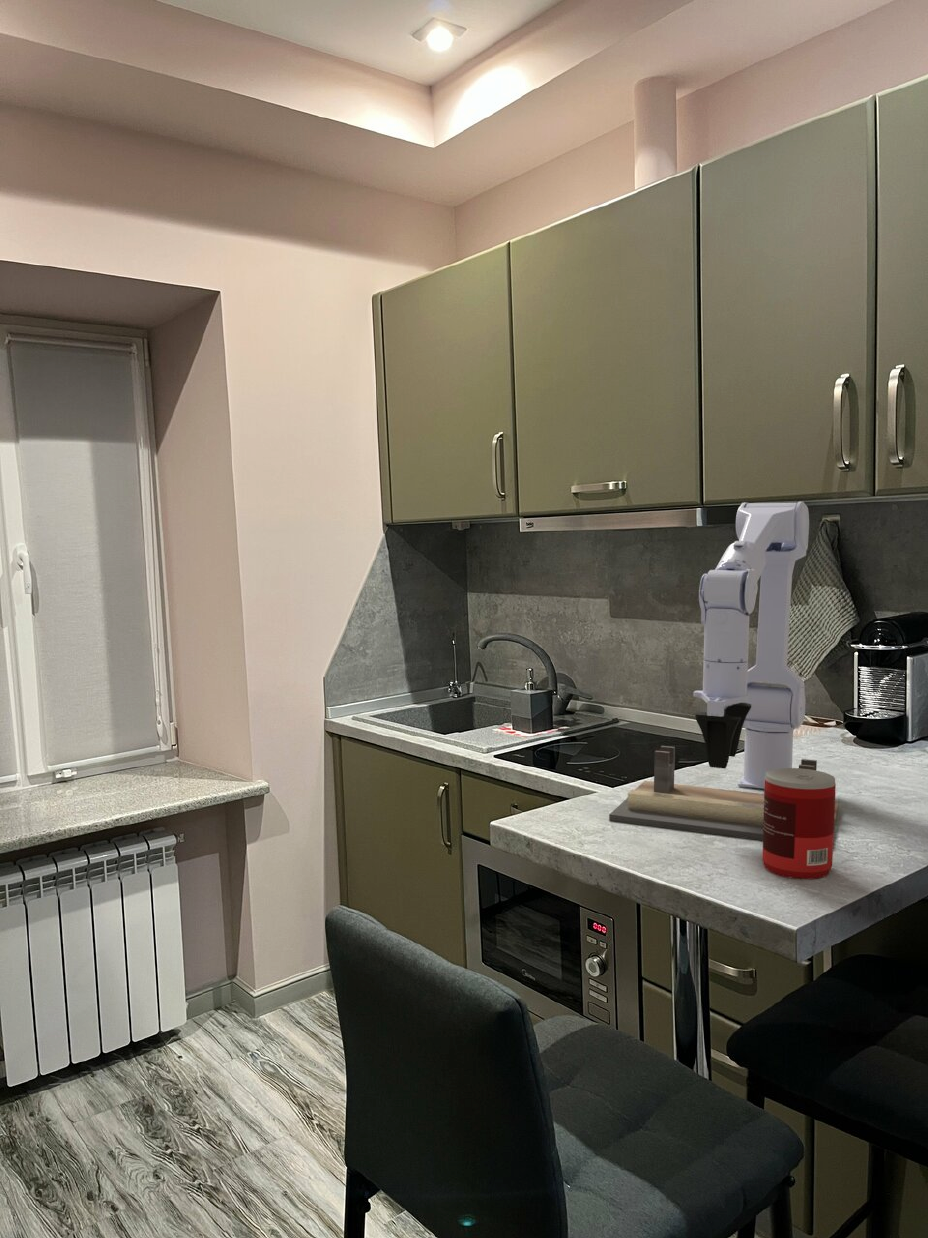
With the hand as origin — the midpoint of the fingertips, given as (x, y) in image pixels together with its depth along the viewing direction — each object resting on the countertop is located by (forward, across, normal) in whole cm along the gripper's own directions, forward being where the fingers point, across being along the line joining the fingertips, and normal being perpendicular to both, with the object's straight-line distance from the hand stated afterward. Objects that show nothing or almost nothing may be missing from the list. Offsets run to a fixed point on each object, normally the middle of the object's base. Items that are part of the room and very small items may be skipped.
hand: (722, 761), depth 128 cm
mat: (+8, 0, 0) cm, 9 cm away
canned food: (+9, +15, +11) cm, 20 cm away
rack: (+8, -10, 0) cm, 13 cm away
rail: (+8, 0, 0) cm, 8 cm away
